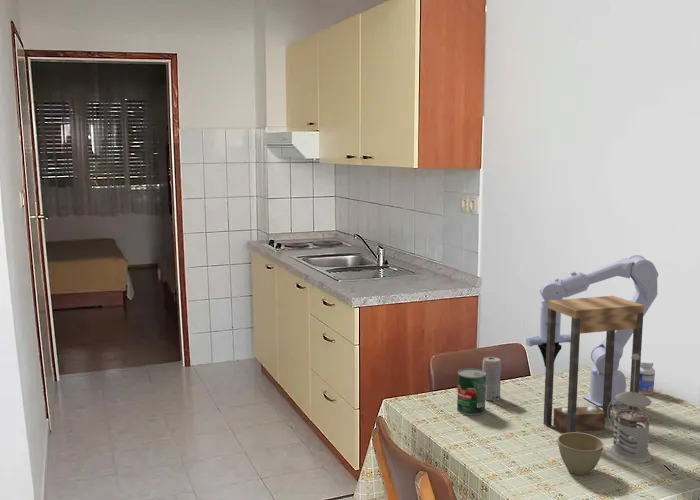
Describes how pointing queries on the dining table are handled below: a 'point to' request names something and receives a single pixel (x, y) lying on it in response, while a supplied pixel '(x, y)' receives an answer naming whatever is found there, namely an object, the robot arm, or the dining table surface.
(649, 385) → the pill bottle
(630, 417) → the french press
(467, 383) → the canned tomato
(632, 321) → the wood and metal stand
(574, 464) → the flower pot
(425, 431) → the dining table surface
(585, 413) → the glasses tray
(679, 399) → the dining table surface
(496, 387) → the energy drink
